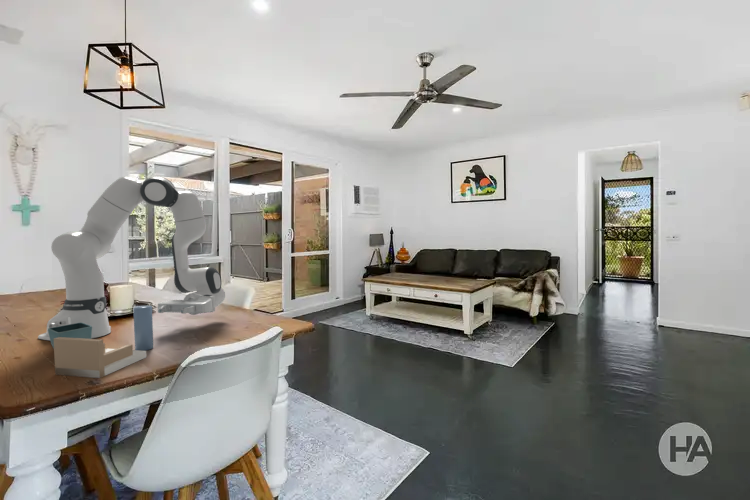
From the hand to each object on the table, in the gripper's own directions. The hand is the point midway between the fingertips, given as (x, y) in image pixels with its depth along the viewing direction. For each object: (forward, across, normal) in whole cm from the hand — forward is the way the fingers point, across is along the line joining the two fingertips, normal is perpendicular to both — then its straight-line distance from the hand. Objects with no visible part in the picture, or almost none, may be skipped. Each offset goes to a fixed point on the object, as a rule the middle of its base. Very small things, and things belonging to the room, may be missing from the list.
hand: (171, 311), depth 132 cm
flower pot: (+21, -19, +10) cm, 30 cm away
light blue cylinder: (+12, -1, +10) cm, 16 cm away
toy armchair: (+27, -1, +10) cm, 29 cm away
